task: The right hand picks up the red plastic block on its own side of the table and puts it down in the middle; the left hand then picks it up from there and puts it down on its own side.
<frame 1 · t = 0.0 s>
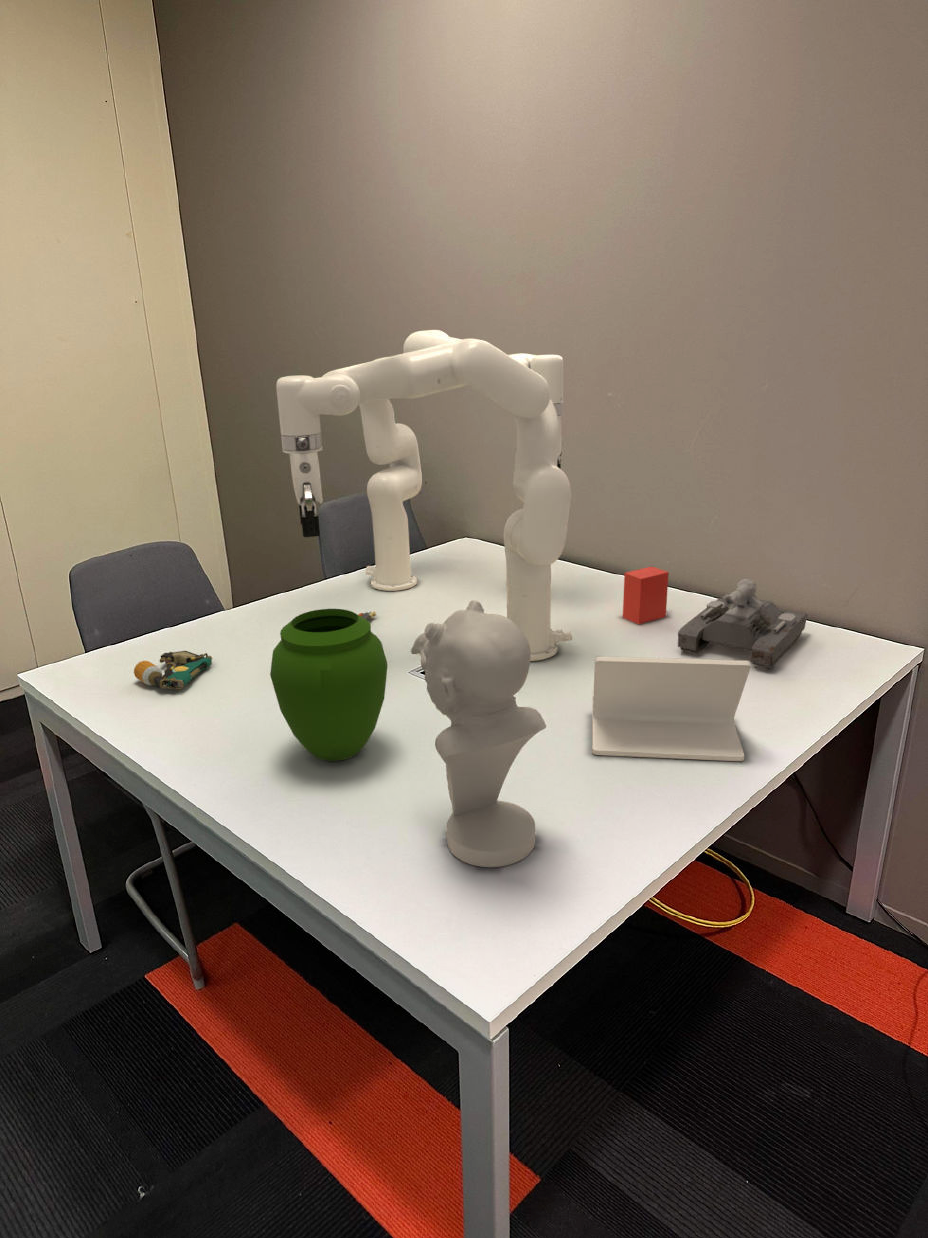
left hand: (546, 483, 204), 31 cm above the table, tool pointing down, fingers open, 9 cm apart
right hand: (310, 530, 169), 31 cm above the table, tool pointing down, fingers open, 9 cm apart
vase: (337, 751, 149), on the table
sculpture: (519, 583, 233), on the table
toy gun: (346, 630, 203), on the table
toy: (741, 644, 188), on the table
tablet stand: (663, 733, 152), on the table
block: (644, 617, 206), on the table
bust sculpture: (470, 832, 125), on the table
spray gun: (177, 676, 181), on the table
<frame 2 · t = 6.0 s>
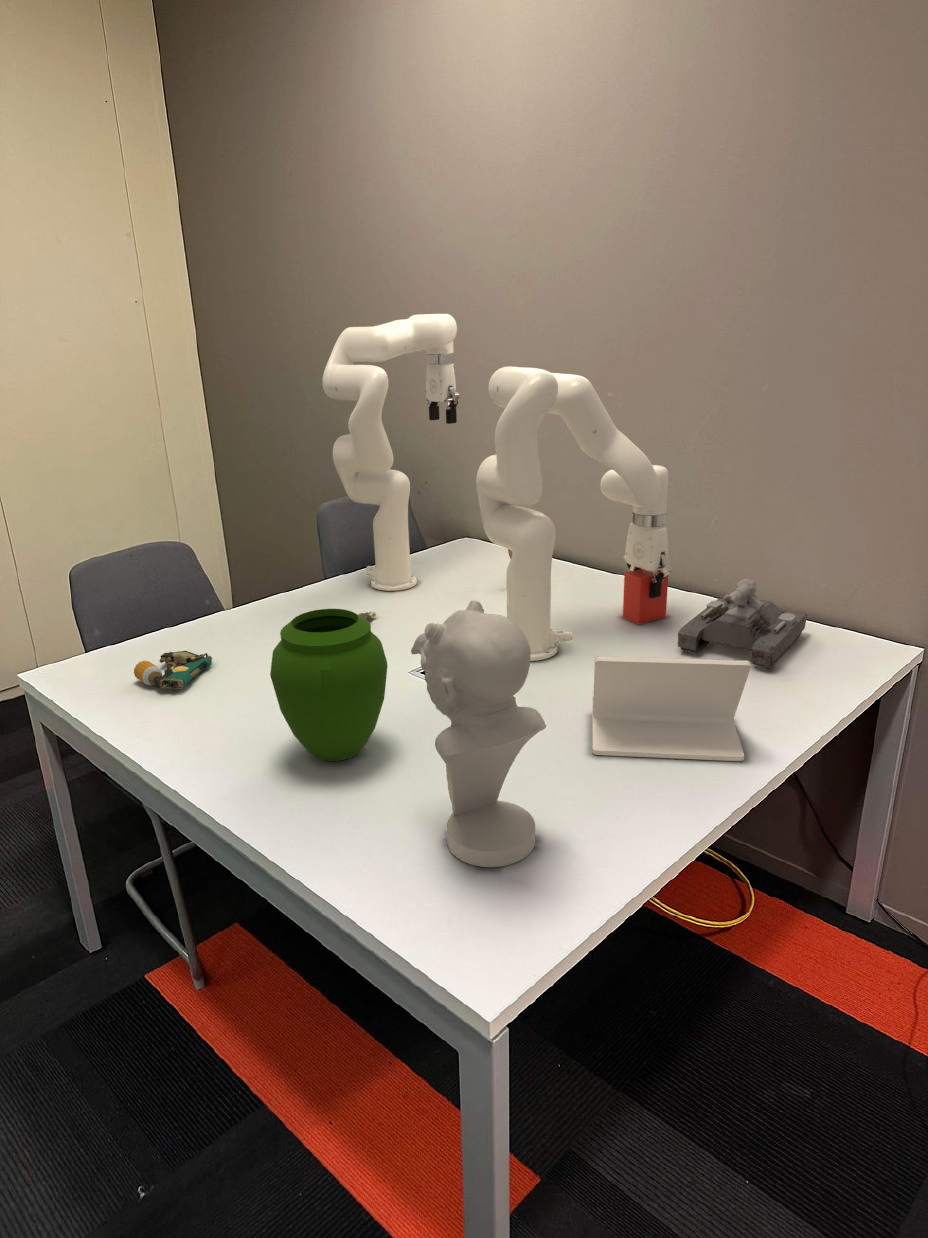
left hand: (442, 421, 248), 40 cm above the table, tool pointing down, fingers open, 9 cm apart
right hand: (645, 592, 204), 6 cm above the table, tool pointing down, fingers closed on block, 5 cm apart
block: (644, 617, 206), on the table, touching right hand
everything else where it was.
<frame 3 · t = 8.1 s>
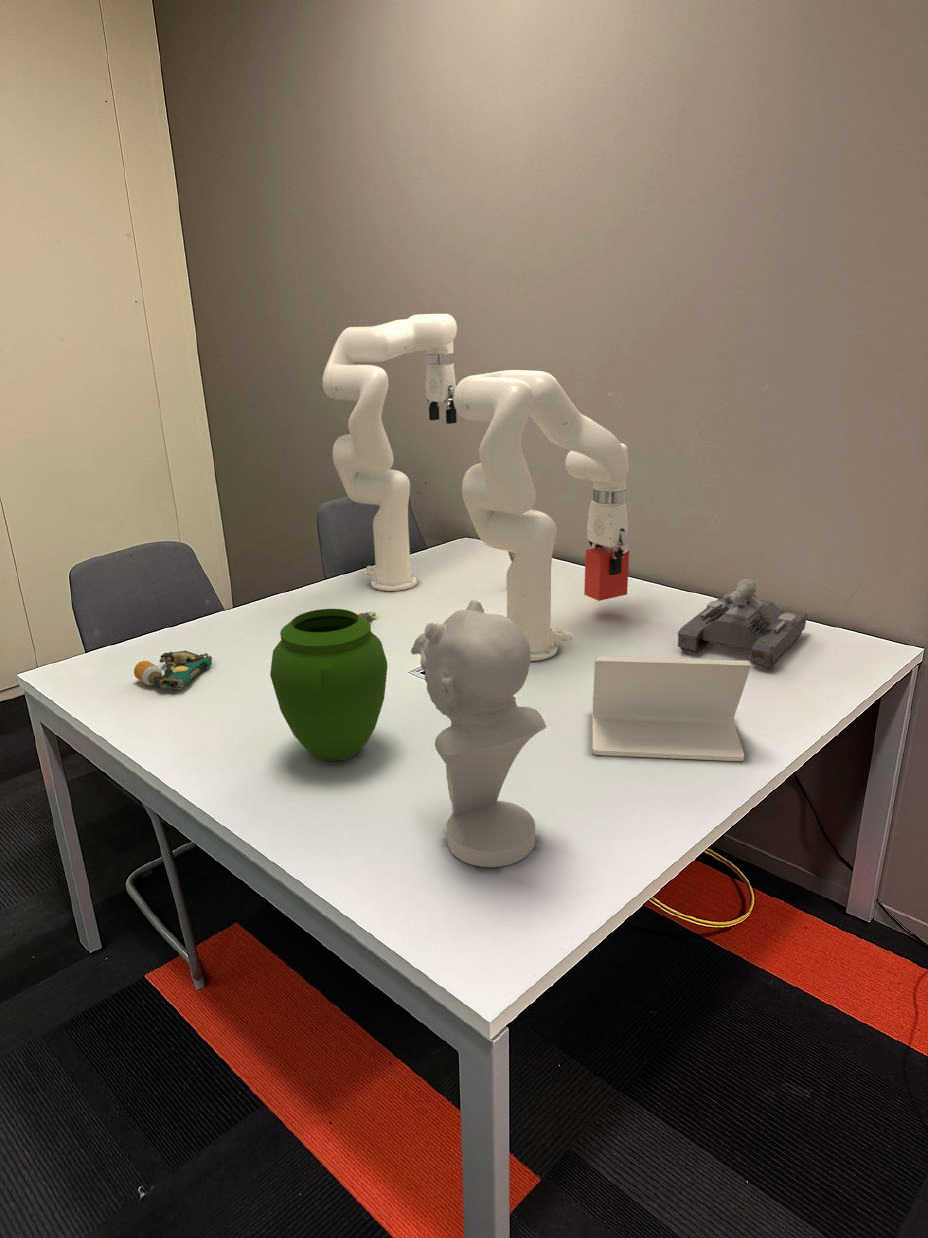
left hand: (442, 421, 248), 40 cm above the table, tool pointing down, fingers open, 9 cm apart
right hand: (606, 570, 205), 11 cm above the table, tool pointing down, fingers closed on block, 5 cm apart
block: (605, 594, 207), point 5 cm above the table, touching right hand
everything else where it was.
when the right hand's fingers open (8 cm above the table, at t = 10.3 s): block drops 1 cm, on the table.
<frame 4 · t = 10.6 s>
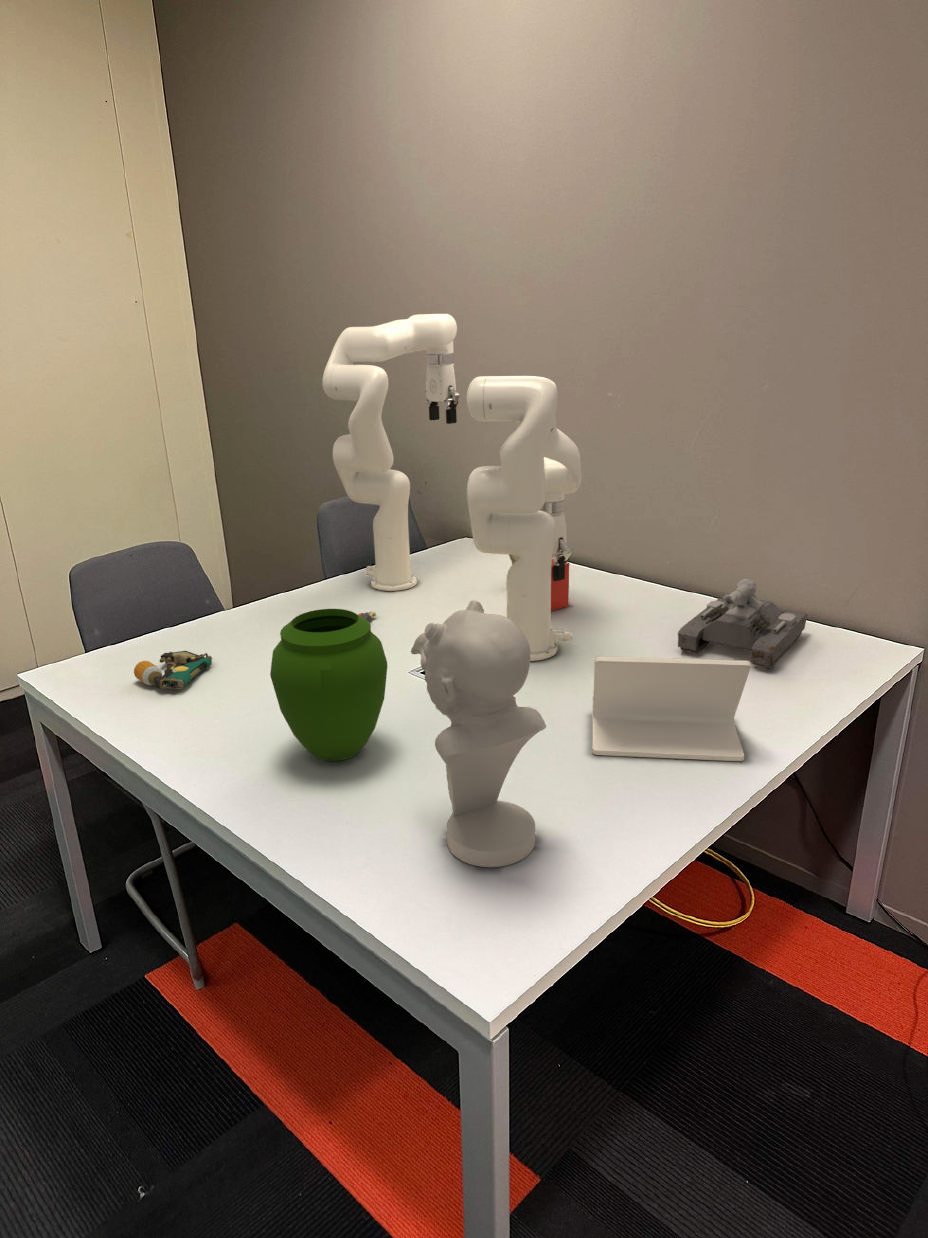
left hand: (442, 421, 248), 40 cm above the table, tool pointing down, fingers open, 9 cm apart
right hand: (548, 575, 212), 8 cm above the table, tool pointing down, fingers open, 8 cm apart
block: (547, 606, 215), on the table
everything else where it was.
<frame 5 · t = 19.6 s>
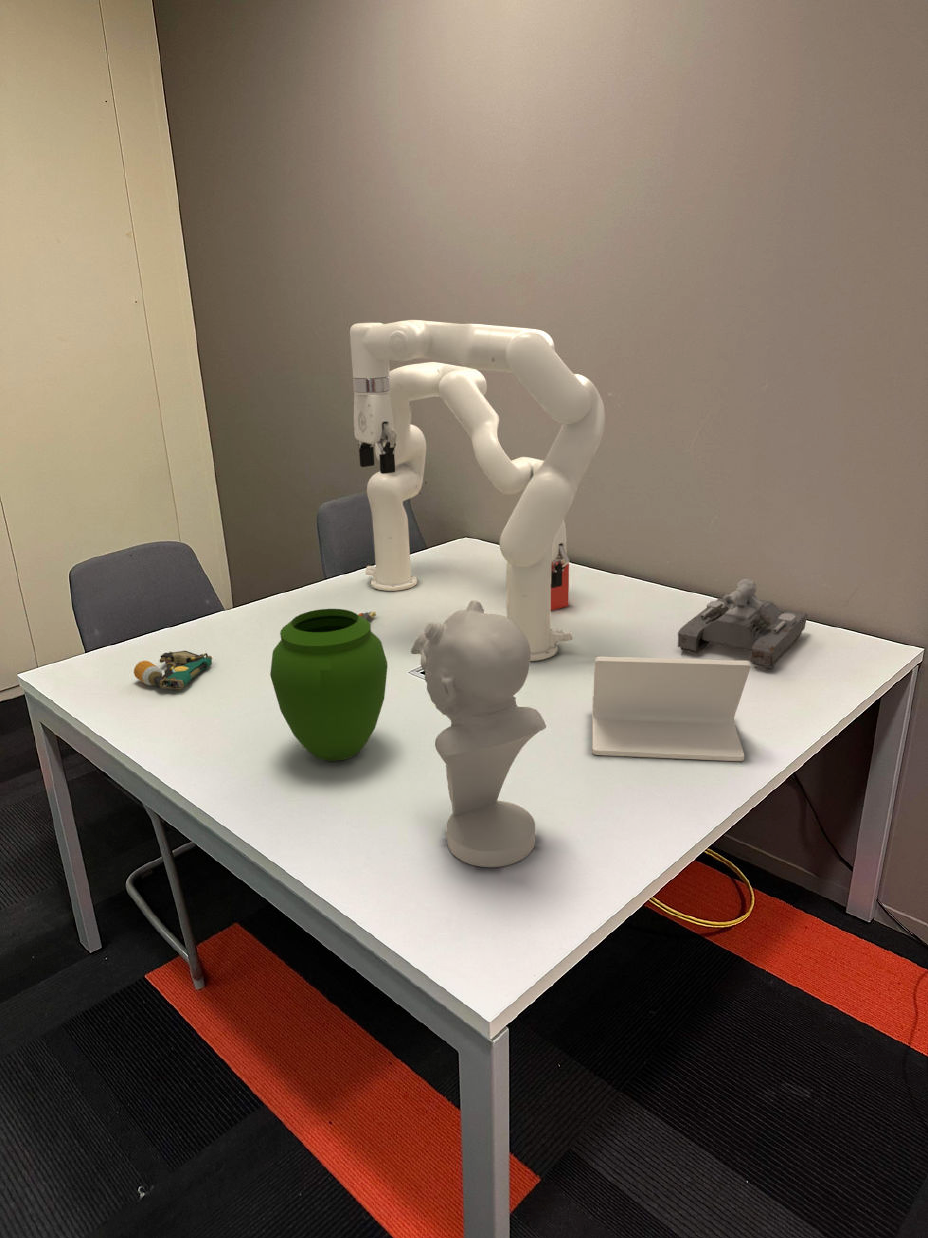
left hand: (548, 582, 213), 6 cm above the table, tool pointing down, fingers closed on block, 5 cm apart
right hand: (377, 469, 181), 40 cm above the table, tool pointing down, fingers open, 9 cm apart
block: (547, 606, 215), on the table, touching left hand
everything else where it was.
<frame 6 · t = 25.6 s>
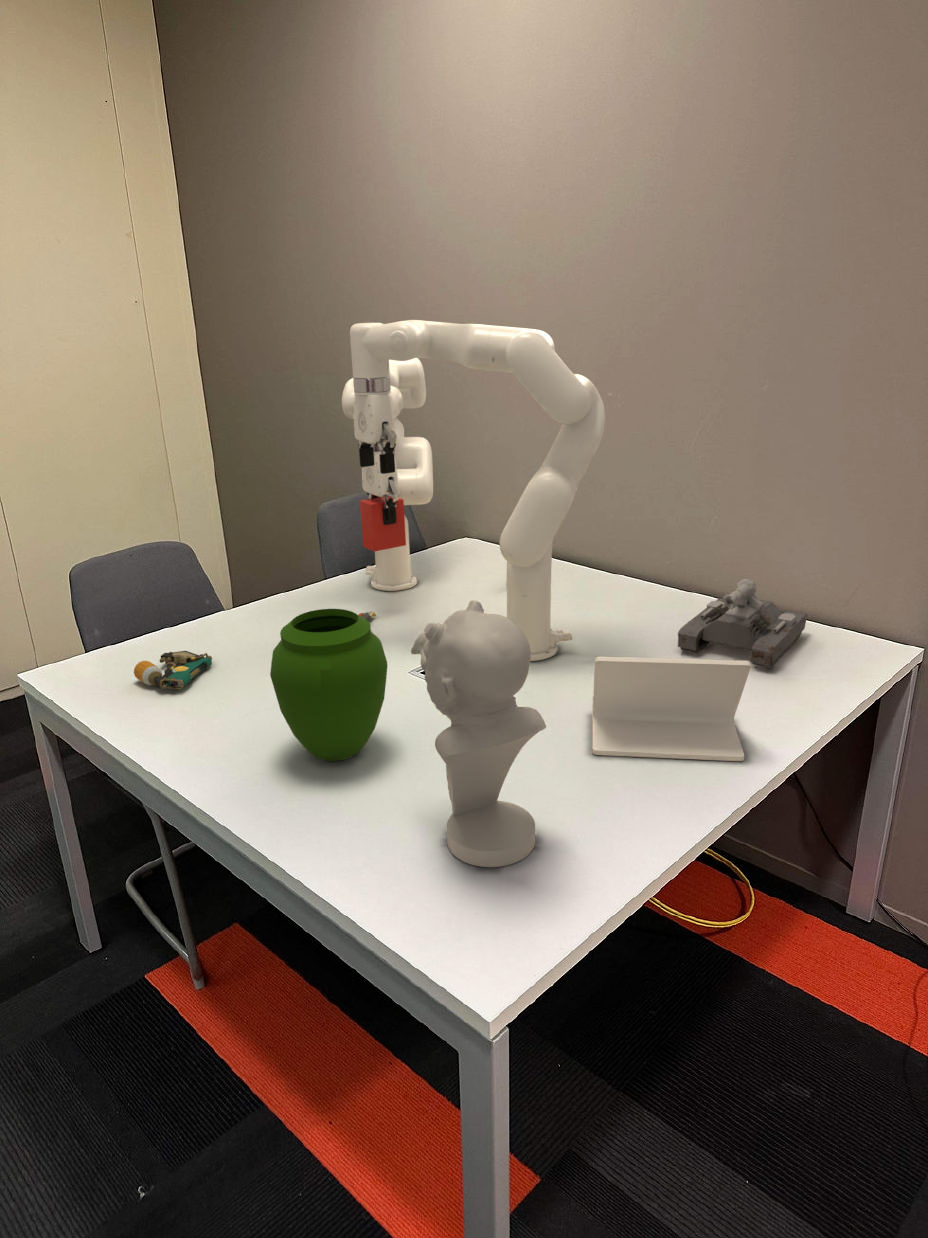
left hand: (383, 520, 204), 24 cm above the table, tool pointing down, fingers closed on block, 5 cm apart
right hand: (377, 469, 181), 40 cm above the table, tool pointing down, fingers open, 9 cm apart
block: (384, 545, 206), point 18 cm above the table, touching left hand
everything else where it was.
when the left hand's fingers open (8 cm above the table, at t = 31.8 s): block drops 1 cm, on the table.
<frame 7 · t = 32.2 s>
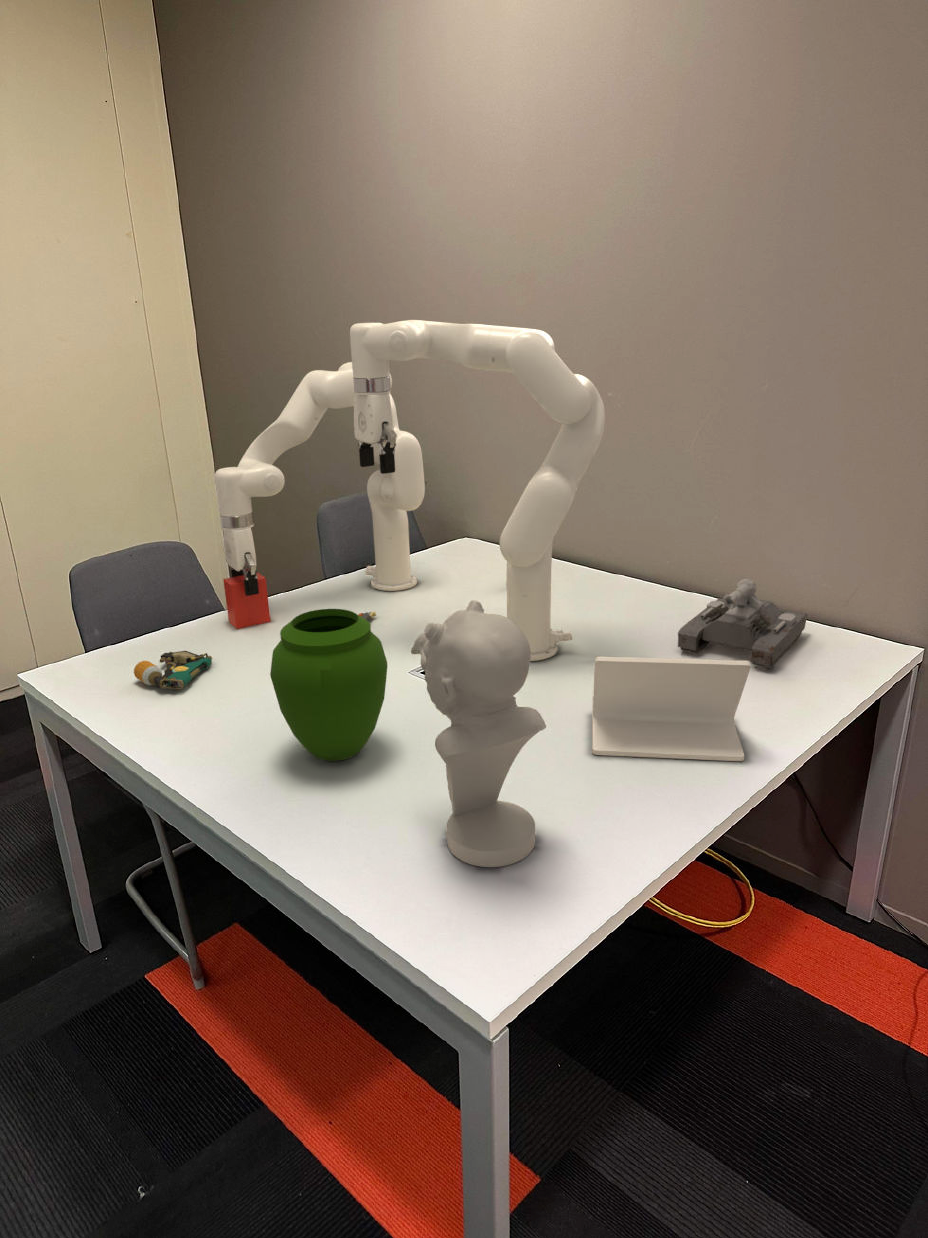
left hand: (245, 589, 207), 9 cm above the table, tool pointing down, fingers open, 9 cm apart
right hand: (377, 469, 181), 40 cm above the table, tool pointing down, fingers open, 9 cm apart
block: (249, 622, 210), on the table
everything else where it was.
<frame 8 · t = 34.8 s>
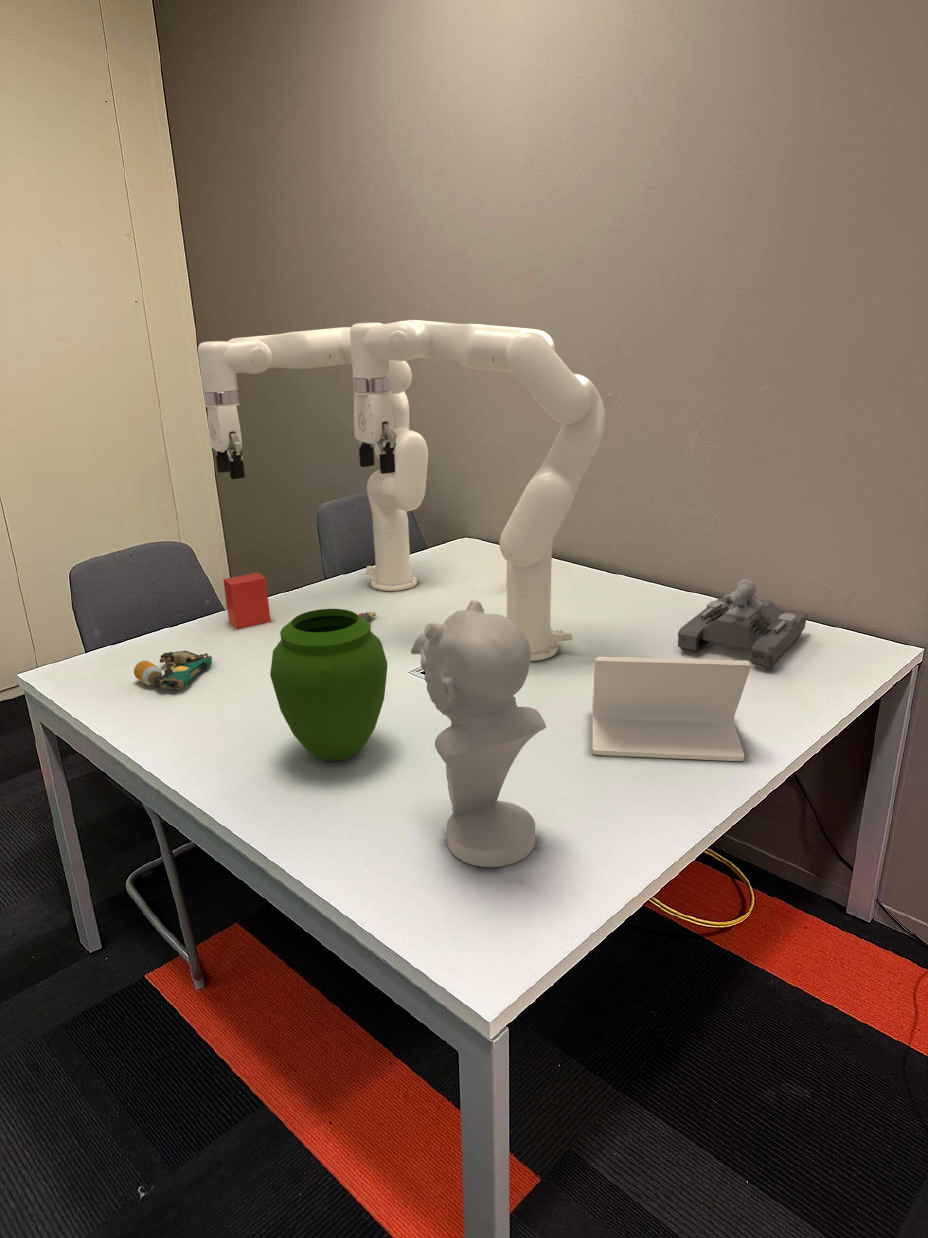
left hand: (231, 475, 197), 36 cm above the table, tool pointing down, fingers open, 9 cm apart
right hand: (377, 469, 181), 40 cm above the table, tool pointing down, fingers open, 9 cm apart
nothing on the table moved.
at the end: block inside the target area (0.1 cm from its centre), on the table; block tilted 0°; the two hands never held the block at the same time; the left hand is holding nothing; the right hand is holding nothing; block at rest at the end (0.0 cm/s) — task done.
